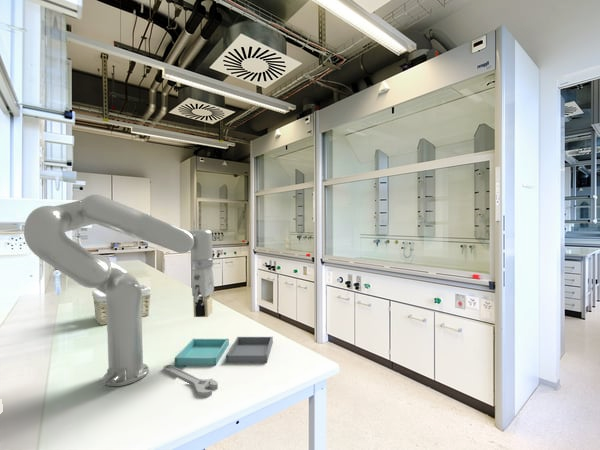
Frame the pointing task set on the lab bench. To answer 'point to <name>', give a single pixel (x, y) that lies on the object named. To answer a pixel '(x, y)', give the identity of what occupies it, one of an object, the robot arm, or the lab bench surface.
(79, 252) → the robot arm
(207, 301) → the sandstone block
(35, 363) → the lab bench surface
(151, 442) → the lab bench surface
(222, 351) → the teal bin
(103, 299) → the storage basket
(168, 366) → the adjustable wrench
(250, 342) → the charcoal bin
